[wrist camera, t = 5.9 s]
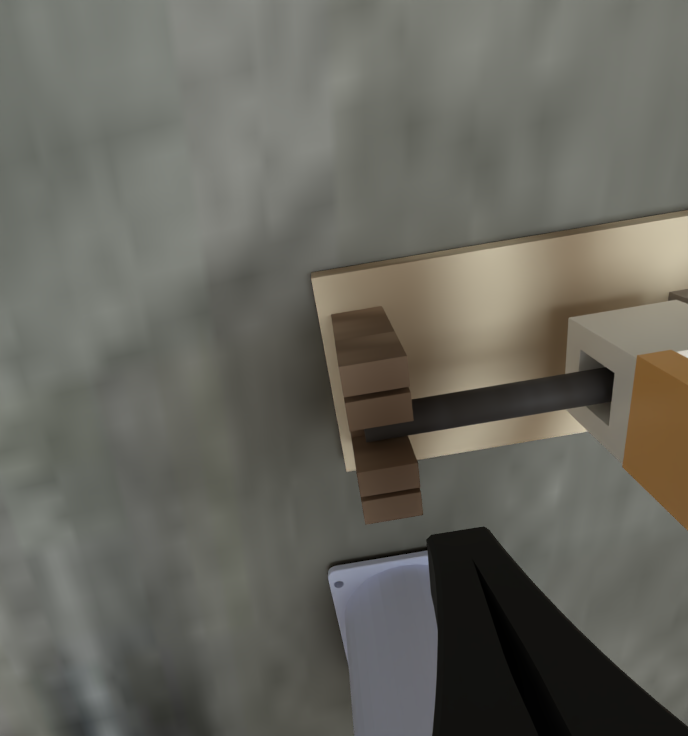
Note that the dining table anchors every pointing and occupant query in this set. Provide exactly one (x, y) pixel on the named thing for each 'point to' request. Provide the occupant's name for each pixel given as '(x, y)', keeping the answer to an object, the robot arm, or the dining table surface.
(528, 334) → the board
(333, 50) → the dining table surface
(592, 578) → the dining table surface
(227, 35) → the dining table surface
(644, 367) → the sleeve
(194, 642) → the dining table surface
